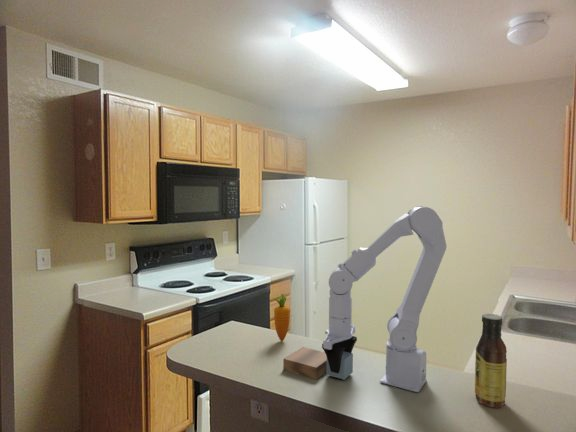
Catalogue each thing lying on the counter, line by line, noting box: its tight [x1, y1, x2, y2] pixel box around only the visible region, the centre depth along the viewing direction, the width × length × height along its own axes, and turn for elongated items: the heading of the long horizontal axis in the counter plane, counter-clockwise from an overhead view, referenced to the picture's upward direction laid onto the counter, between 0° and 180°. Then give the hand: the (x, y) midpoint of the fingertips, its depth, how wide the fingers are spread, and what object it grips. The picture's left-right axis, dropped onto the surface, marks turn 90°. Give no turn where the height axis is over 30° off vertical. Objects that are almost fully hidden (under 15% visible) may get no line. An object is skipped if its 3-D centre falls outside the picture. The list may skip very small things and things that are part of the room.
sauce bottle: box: [474, 313, 508, 409], centre depth 90 cm, size 6×6×20 cm
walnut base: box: [283, 346, 327, 380], centre depth 108 cm, size 10×10×3 cm
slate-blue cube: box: [325, 351, 354, 380], centre depth 103 cm, size 5×5×5 cm
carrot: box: [273, 293, 291, 342], centre depth 127 cm, size 5×5×15 cm
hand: (339, 368), depth 103 cm, fingers closed on slate-blue cube, 5 cm apart
